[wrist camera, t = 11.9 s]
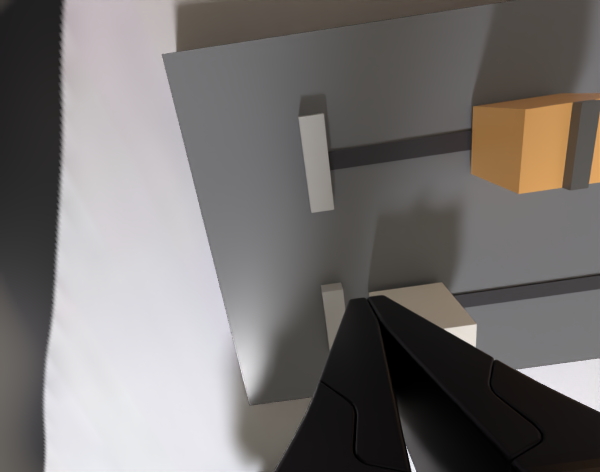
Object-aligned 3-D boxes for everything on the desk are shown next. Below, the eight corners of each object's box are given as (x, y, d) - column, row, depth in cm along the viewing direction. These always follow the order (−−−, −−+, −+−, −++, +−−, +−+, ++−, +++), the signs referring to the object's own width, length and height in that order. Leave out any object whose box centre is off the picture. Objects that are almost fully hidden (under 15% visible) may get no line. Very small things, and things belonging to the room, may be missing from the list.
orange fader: (553, 161, 16) (632, 181, 12) (470, 173, 16) (525, 196, 12) (561, 93, 15) (650, 92, 11) (473, 106, 15) (533, 109, 11)
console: (644, 326, 22) (690, 356, 19) (252, 379, 22) (248, 415, 20) (730, -26, 16) (816, -49, 13) (176, 59, 16) (155, 52, 13)
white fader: (441, 329, 19) (479, 386, 15) (372, 339, 19) (393, 397, 15) (441, 282, 18) (481, 330, 14) (368, 292, 18) (389, 343, 14)
